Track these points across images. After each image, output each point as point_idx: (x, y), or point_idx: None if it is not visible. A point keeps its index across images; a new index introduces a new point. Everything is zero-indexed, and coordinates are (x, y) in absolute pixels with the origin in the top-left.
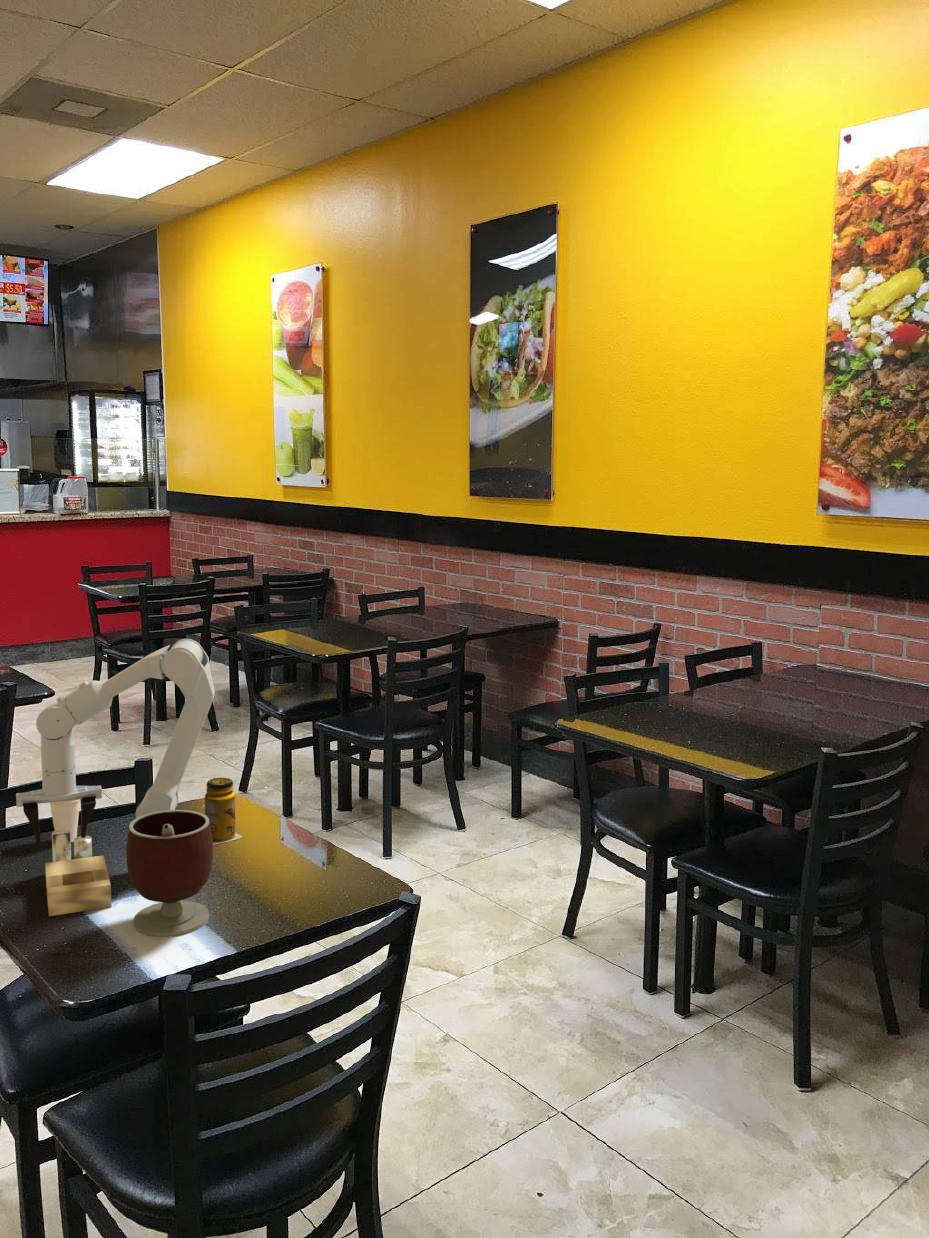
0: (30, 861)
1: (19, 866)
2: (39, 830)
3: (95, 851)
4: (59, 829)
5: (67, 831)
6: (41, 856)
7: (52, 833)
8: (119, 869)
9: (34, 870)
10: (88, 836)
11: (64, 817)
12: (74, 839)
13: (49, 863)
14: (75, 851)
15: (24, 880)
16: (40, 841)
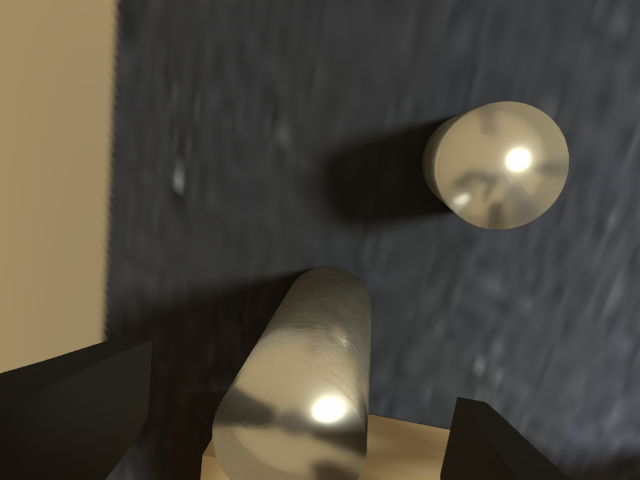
0: (208, 65)
1: (152, 111)
2: (91, 446)
3: (565, 82)
4: (287, 370)
5: (340, 454)
6: (270, 14)
7: (217, 430)
8: (589, 402)
9: (213, 203)
10: (555, 136)
11: None
12: (444, 151)
13: (223, 473)
14: (430, 181)
15: (160, 301)
16: (141, 426)
